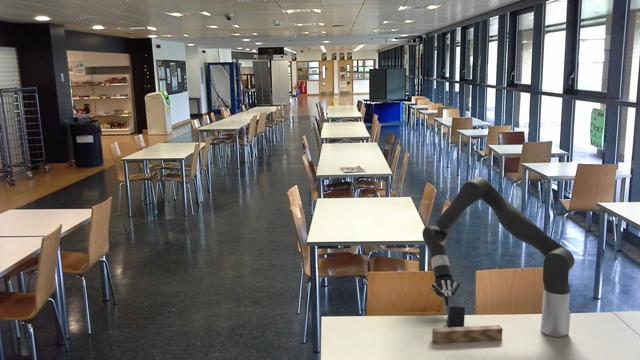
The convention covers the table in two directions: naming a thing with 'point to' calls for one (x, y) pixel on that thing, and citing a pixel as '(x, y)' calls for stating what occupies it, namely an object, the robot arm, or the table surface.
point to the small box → (455, 312)
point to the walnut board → (467, 334)
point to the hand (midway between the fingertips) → (449, 305)
